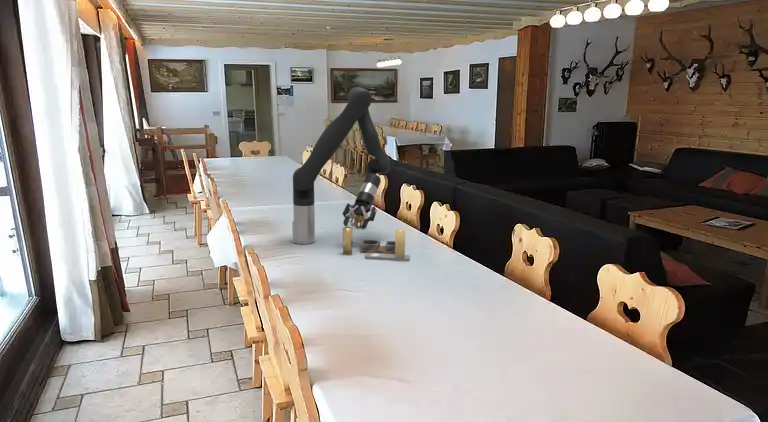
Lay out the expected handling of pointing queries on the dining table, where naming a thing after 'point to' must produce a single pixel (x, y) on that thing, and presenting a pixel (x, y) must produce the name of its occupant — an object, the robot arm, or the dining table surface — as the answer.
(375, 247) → the double bowl tray
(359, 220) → the lion figurine
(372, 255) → the plate
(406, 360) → the dining table surface
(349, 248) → the brass pin
